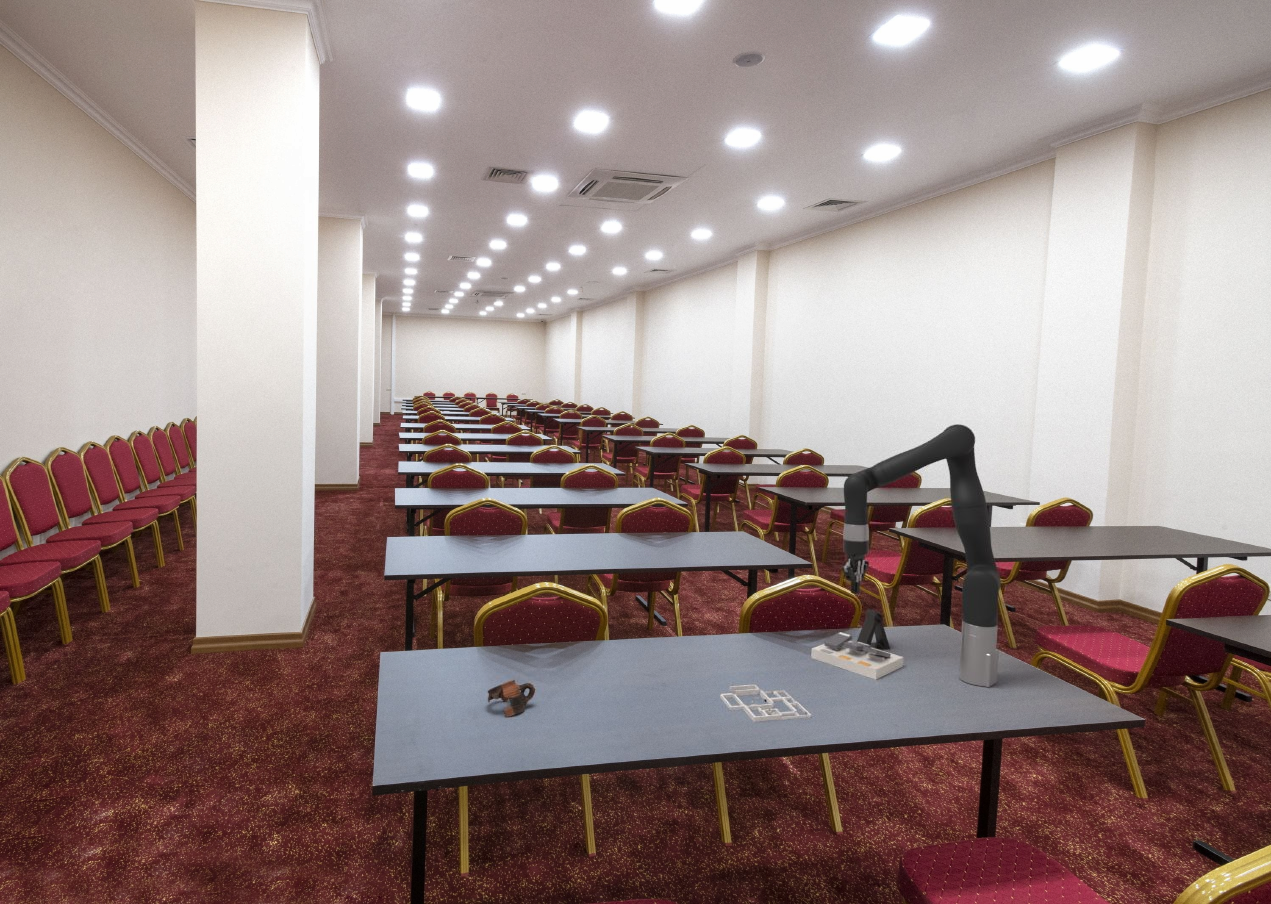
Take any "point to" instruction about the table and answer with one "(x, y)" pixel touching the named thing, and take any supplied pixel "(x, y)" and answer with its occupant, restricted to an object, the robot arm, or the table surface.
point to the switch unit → (858, 660)
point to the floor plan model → (765, 713)
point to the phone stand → (874, 631)
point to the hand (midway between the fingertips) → (855, 593)
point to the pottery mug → (512, 696)
